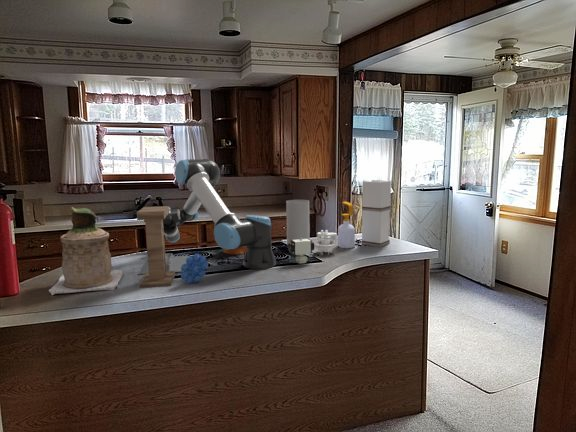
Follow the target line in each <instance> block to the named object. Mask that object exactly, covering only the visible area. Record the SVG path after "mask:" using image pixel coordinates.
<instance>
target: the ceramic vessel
mask: <svg viewBox="0 0 576 432" xmlns="http://www.w3.org/2000/svg"><path fill="white" fill-rule="evenodd" d="M222 252H223V254H228V255H237V256H238V255H239V256H240V255H245V252H246V246H243V247H238V248H235V249H223V251H222Z"/></svg>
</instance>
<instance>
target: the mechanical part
mask: <svg viewBox="0 0 576 432" xmlns="http://www.w3.org/2000/svg"><path fill="white" fill-rule="evenodd" d="M316 234H317V236H316V240H317V241H316V242H314V246H315V247H314V248H318V249H317V250H318V251H319V252H320V254H321V255H324V253H327V255H328V256H329V255H330V254H332V251H333V250H334V248H336V247H337V243H338V232H337V233H336V232H329V230H328V229H325V231H324V230H323V229H321V230H320V231H319V232H316Z"/></svg>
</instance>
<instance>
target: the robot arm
mask: <svg viewBox="0 0 576 432" xmlns="http://www.w3.org/2000/svg"><path fill="white" fill-rule="evenodd" d="M174 173H175V174H174V175H175V180H176V182H177V183H178V185H182V186H183V185H185V186H186V188H187V189H188V190H189V191H190V192H191V193H190V195H189V197H188V199H187V200H186V201H185V204H184V205H183V207H181V208H176V209H171V207H170V206H169V214H168V215H167V216H166V217H165V219H163V229H164V238H165V239H166V240H167V241H168V242H169V243H173V244H174V243H177V242H178V241H179V240H180V238H181V235H180V234H181V233H180V231H179V229H178V226H179V227H182V226H183V224H184V223H185V222H186V223H187V222H192V221H193V222H194V221H197V219H198V215H199V211H198V210H199V209H200V207H201V205H202V206H203V208H204V209H205V211H206V213H207V214H208V215H209V217H210V218H211V220H212V221H213V222H214V227H213V228H214V229H213V237H214V240H215V242H216V244H217V246H219V248H221V249H223V250H224V249H235V248H238V247H243V246H246V252H245V253H244V256H243V259H242V265H243V267H244V268H246V269H251V270H252V269H253V270H263V269H269V268H273V267H275V266H276V264H277V263H276V262H277V261H276V260H277V259H276V257H275V253H274V251H273V248H272V223H271V218H270V217H268V216H264V215H263V216H262V215H253V214H252V215H251V214H249V215H248V214H247V215H245V217H244V219H240V217H239V216H238V214H236V213H234V212H231V211H230V209H229V208H228V206H227V205H226V204H225V202H224V201H223V199H222V198H221V196H220V195H219V194H218V192H217V191H216V189H215V188H214V187H216V186H217V184H218V182H219V181H220V178H221V169H220V167H219V165H218V164H217V163H216V162H215V161H214V160H211V159H210V158H200V159H199V158H197V159H195V158H194V159H193V158H191V159H181V160H179V161H178V162H177V163H176V166H175V171H174ZM143 222H144V223H145V220H143Z"/></svg>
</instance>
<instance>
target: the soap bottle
mask: <svg viewBox="0 0 576 432" xmlns="http://www.w3.org/2000/svg"><path fill="white" fill-rule="evenodd" d="M342 204H344V205H345V206H348V213H342V214H341V216H343V217H344V219H343V224H340V225H339V226H338V228H337V246H338V247H339V248H341V249H351V248H352V249H353V248H355V246H356V241H355V239H356V229H355V227H354V226H353V225H352V224H350V218H349V217H350V216H352V215H353V213H354V206H353V204H352V203H351V202H348V201H347V200H346V201H342Z"/></svg>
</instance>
